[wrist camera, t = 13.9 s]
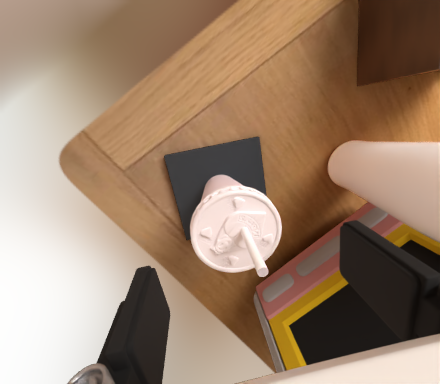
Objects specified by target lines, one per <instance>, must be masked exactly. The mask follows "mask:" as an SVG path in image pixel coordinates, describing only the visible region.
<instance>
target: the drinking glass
mask: <svg viewBox="0 0 440 384" xmlns="http://www.w3.org/2000/svg"><path fill="white" fill-rule="evenodd" d="M328 174H329V176H330V178H331V180H332V181H333V182H334V183H335V184H337V185H338V186H341V187H343V188H345V189H347V190H349V191H351V192H352V193H354V194H356V195H357V196H359V197H361V198H363V199H364V200H366V201H368V202H369V203H371V204H373V205H374V206H376V207H378V208H379V209H381V210H383V211H384V212H386V213H388V214H389V215H391V216H392V217H394V218H396V219H397V220H399V221H401V222H402V223H404V224H406V225H408V226H409V227H411V228H413V229H414V230H416V231H418V232H420V233H421V234H423V235H425V236H427V237H429V238H431V239H433V240H435V241H437V242H439V243H440V142H372V141H360V140H353V141H348V142H345V143H343V144H342V145H340V146H339V147H338V148H336V149H335V151H334V152H333V153H332V155H331V157H330V159H329V162H328Z"/></svg>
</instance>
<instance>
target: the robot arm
mask: <svg viewBox="0 0 440 384" xmlns="http://www.w3.org/2000/svg"><path fill="white" fill-rule="evenodd" d="M339 270H340V273H341V275H342V276H343V278H344V279H345V280H346V281H347V282H348V283H349V284H350V285H351V286H352V287H353V289H354V290H355V291H356V292H357V293H358V294H359V295H360V296H361V297H362V298H363V299H364V301H365V302H366V303H367V304H368V305H369V306H370V307H371V308H372V309H373V310H374V311H375V313H376V314H377V315H378V316H379V317H380V318H381V319H382V320H383V321H384V322H385V323H386V324H387V326H388V327H389V328H390V329H391V330H392V331H393V332H394V333H395V334H396V335H397V336H398V337H399V338H400V339H401V340H405V341H404V342H400V343H396V344H392V345H388V346H384V347H380V348H376V349H372V350H367V351H363V352H359V353H355V354H351V355H347V356H343V357H339V358H335V359H331V360H327V361H323V362H319V363H315V364H311V365H307V366H303V367H299V368H295V369H291V370H287V371H283V372H279V373H275V374H271V375H267V376H263V377H259V378H255V379H252V380H247V381H244V382H240V383H236V384H440V273H438V272H437V271H435V270H434V269H432V268H431V267H429V266H427V265H426V264H424V263H423V262H421V261H420V260H418V259H417V258H415V257H413V256H412V255H410V254H409V253H407V252H406V251H404V250H403V249H401V248H399V247H398V246H396V245H395V244H393V243H392V242H390V241H389V240H387V239H386V238H384V237H382V236H381V235H379V234H378V233H376V232H375V231H373V230H372V229H370V228H368V227H367V226H365V225H364V224H362V223H361V222H359V221H357V220H353V221H348V222H344V223H343V225H342V226H341V227H340V259H339ZM169 320H170V310H169V307H168V304H167V301H166V298H165V295H164V292H163V289H162V287H161V284H160V281H159V278H158V275H157V272H156V270H155V268H151V267H150V266H146V267H141V268H138V269H137V270H136V272H135V275H134V278H133V280H132V283H131V286H130V289H129V292H128V294H127V296H126V299H125V301H123V302H121V304H120V305H119V308H118V310H117V313H116V316H115V318H114V320H113V323H112V326H111V328H110V331H109V333H108V336H107V338H106V341H105V344H104V346H103V349H102V351H101V354H100V356H99V358H98V361H97V364H92V365H89V366H87V367H85V368H84V369H82V370H81V371H79V372H78V373H77V374H76V375H75V376H74V377H73V378H72V379H71V380H70V381H69V382H68V384H162V379H163V370H164V361H165V353H166V345H167V337H168V329H169Z"/></svg>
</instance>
